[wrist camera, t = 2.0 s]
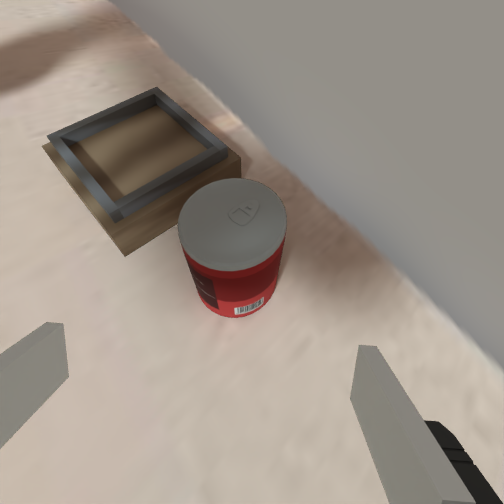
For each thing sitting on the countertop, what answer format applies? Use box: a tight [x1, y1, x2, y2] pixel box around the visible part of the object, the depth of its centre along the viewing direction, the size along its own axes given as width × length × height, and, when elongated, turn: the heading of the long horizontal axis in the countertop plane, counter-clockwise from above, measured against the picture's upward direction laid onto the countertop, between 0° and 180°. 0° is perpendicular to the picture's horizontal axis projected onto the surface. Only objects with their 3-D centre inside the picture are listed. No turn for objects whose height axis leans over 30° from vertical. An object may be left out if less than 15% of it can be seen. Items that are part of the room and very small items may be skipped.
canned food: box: [178, 178, 287, 318], centre depth 27 cm, size 8×8×11 cm
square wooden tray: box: [42, 87, 241, 256], centre depth 36 cm, size 16×16×6 cm
